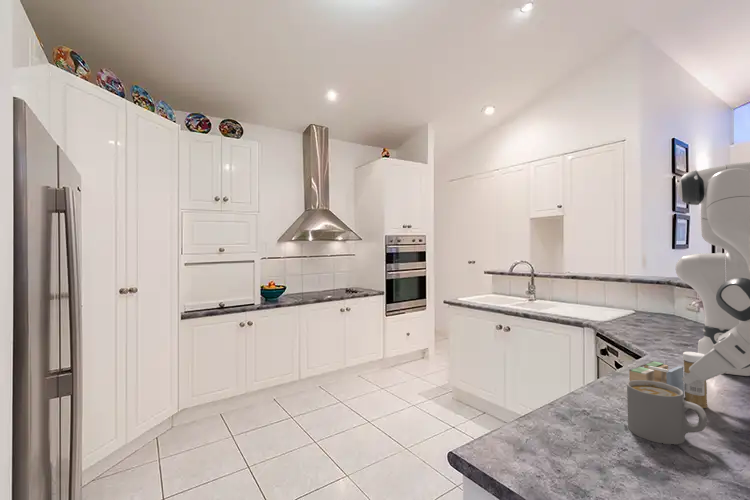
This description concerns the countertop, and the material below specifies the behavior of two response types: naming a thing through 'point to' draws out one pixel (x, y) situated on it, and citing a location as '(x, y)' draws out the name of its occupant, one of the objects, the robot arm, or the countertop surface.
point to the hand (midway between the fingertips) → (692, 377)
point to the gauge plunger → (673, 376)
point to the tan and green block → (649, 372)
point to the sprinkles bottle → (696, 389)
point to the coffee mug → (660, 412)
